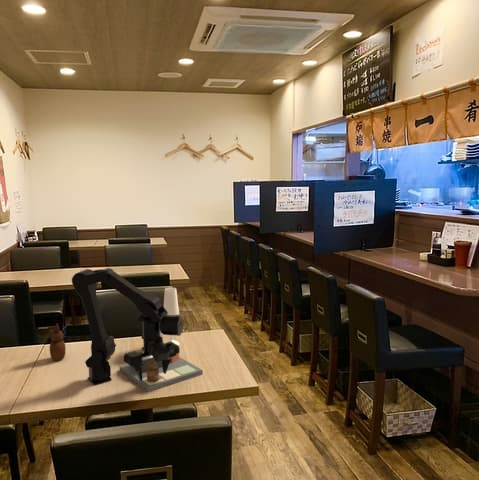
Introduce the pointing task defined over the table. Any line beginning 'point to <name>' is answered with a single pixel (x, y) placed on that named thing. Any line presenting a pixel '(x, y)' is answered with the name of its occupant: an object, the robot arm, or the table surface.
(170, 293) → the champagne flute
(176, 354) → the red die
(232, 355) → the table surface
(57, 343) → the wooden figurine
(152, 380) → the walnut pawn
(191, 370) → the game board
